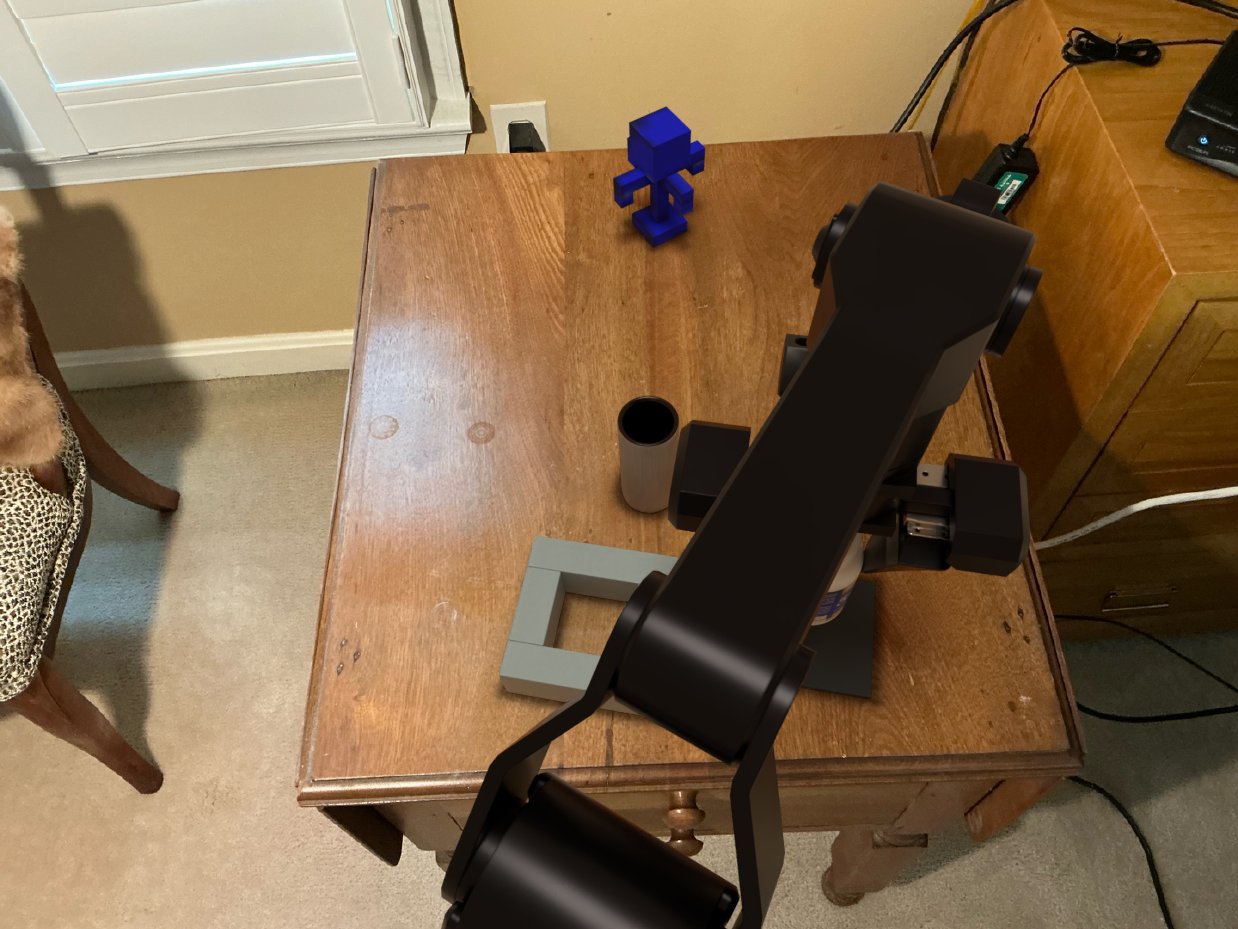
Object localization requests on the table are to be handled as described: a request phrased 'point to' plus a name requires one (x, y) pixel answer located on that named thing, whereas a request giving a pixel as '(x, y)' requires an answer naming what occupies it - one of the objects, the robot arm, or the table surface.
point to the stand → (539, 608)
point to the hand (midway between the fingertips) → (819, 559)
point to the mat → (844, 647)
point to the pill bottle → (842, 582)
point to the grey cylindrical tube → (647, 451)
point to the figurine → (660, 174)
